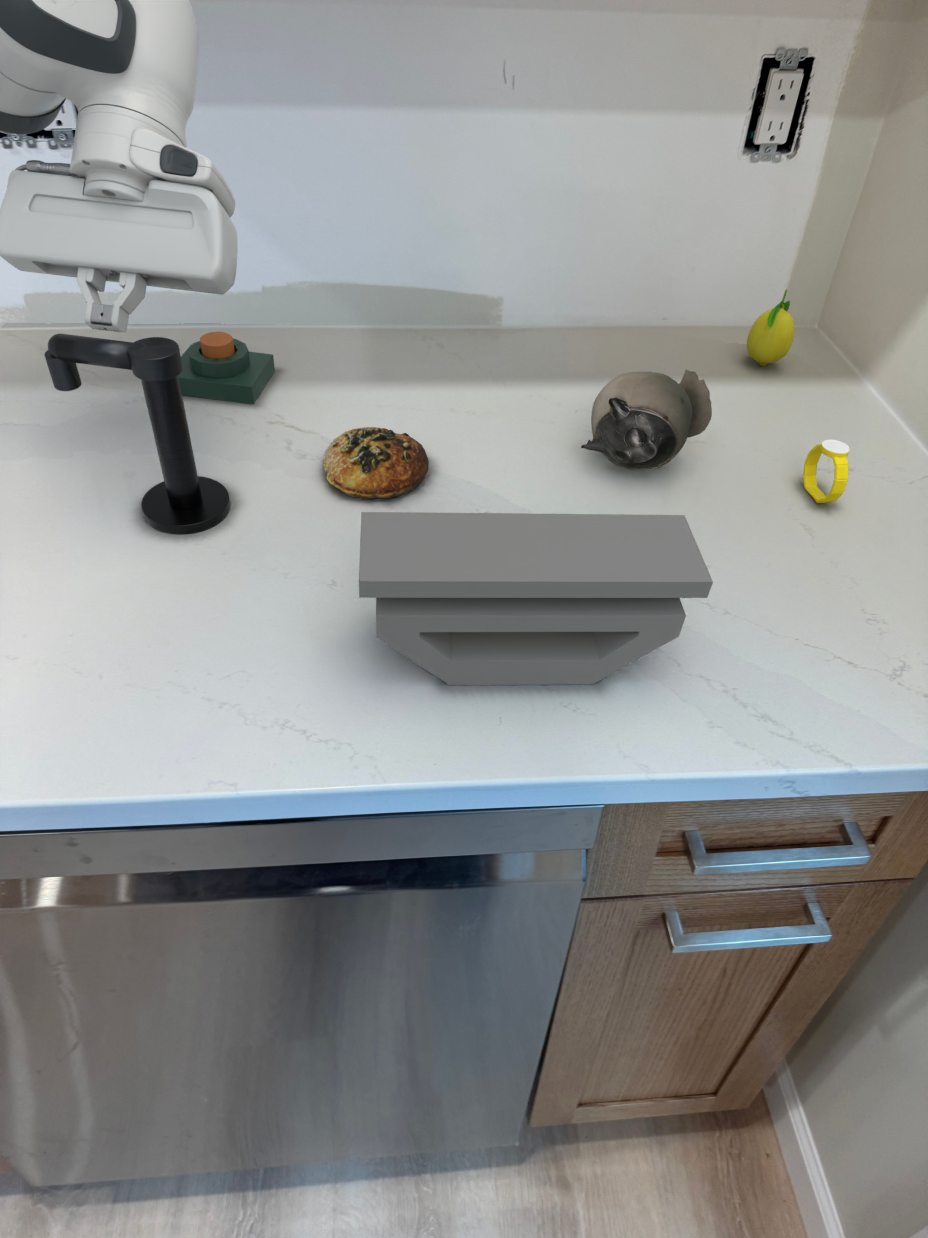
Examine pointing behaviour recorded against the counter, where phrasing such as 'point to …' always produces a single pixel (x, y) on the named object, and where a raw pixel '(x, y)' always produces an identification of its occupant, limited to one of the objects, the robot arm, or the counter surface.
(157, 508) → the faucet base
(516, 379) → the counter surface
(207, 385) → the control block
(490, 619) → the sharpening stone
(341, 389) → the counter surface
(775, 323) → the lemon
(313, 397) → the counter surface
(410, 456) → the bread roll
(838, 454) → the watch
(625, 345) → the counter surface
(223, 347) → the tap button
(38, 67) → the robot arm
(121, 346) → the spout
